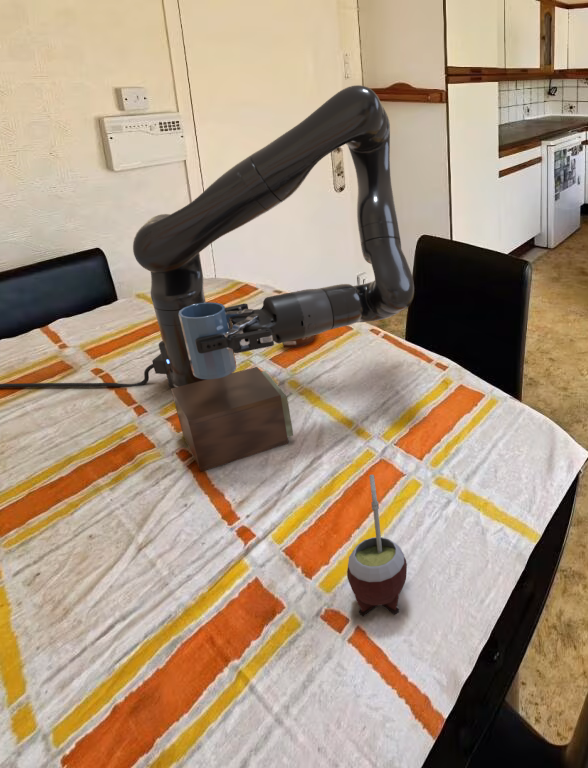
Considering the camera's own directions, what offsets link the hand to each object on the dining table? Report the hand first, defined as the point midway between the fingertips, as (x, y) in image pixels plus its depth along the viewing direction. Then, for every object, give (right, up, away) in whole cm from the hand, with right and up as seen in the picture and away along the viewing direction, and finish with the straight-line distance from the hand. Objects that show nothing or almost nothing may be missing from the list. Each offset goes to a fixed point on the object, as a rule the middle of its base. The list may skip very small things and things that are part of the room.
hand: (191, 338), depth 93 cm
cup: (+2, -5, +4) cm, 6 cm away
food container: (+4, +3, +52) cm, 52 cm away
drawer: (+3, -15, +16) cm, 22 cm away
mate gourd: (+30, -33, -16) cm, 48 cm away
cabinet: (+1, -17, +15) cm, 23 cm away
